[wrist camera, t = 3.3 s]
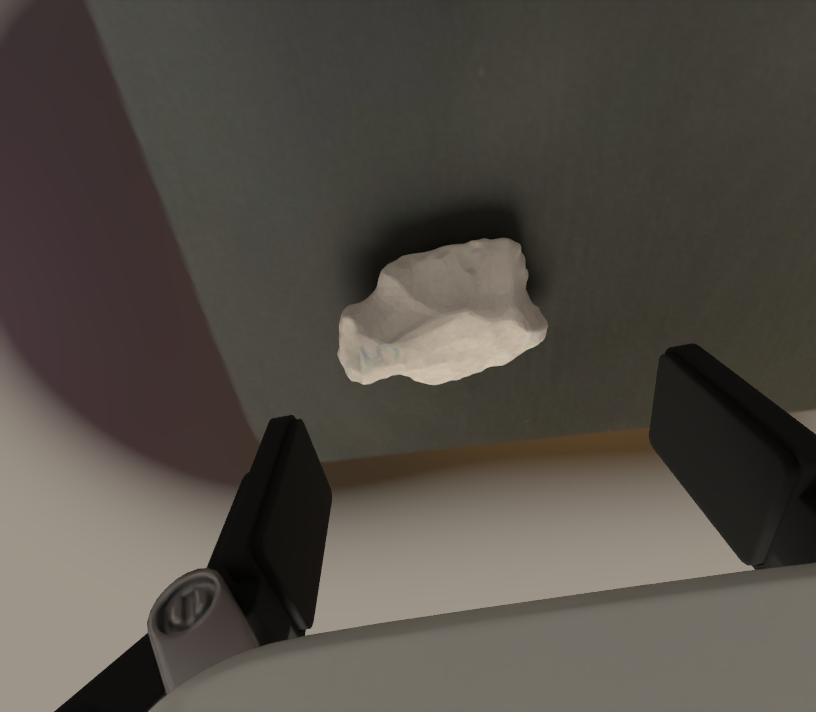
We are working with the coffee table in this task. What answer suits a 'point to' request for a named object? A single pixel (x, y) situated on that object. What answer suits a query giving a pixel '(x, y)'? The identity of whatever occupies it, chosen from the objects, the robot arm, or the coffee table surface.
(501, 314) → the decorative stone
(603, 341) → the coffee table surface
